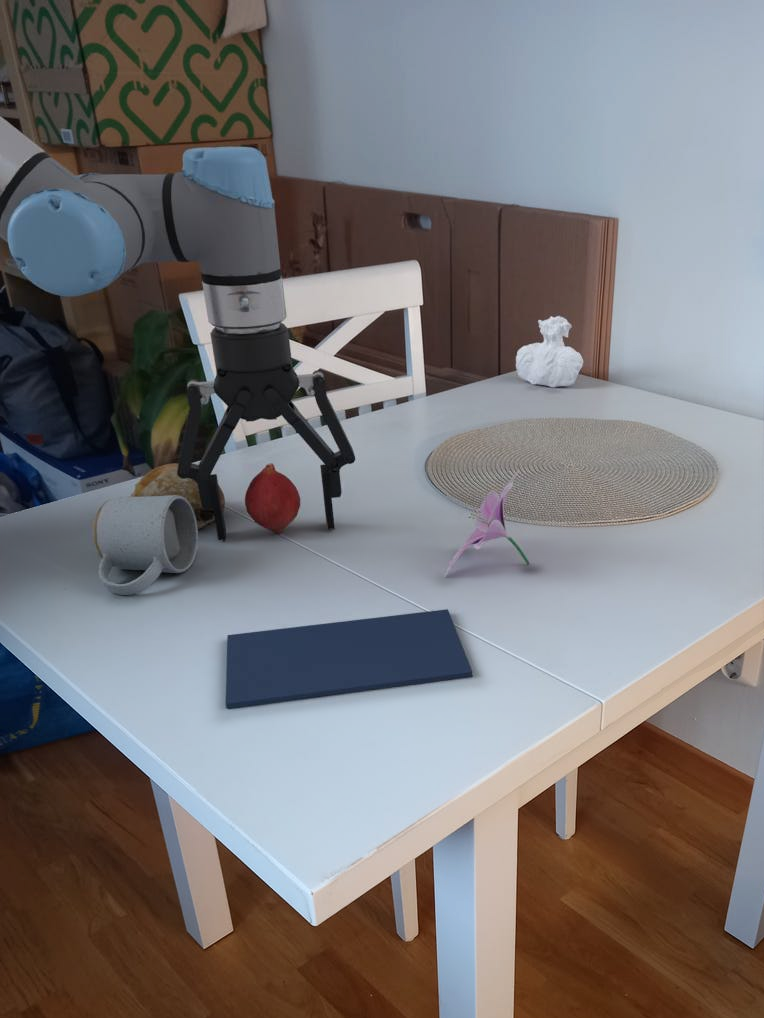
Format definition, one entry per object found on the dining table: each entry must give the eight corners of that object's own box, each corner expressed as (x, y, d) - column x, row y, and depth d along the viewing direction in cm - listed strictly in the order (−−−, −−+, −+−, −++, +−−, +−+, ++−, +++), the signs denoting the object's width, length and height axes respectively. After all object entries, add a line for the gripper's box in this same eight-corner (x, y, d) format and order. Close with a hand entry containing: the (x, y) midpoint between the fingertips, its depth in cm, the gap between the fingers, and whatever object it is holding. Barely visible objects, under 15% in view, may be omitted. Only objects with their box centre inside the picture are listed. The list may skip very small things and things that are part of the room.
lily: (502, 537, 103) (457, 468, 98) (586, 523, 94) (542, 446, 90) (448, 610, 96) (398, 539, 92) (534, 602, 88) (483, 523, 83)
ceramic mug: (131, 548, 99) (115, 481, 95) (204, 552, 98) (191, 484, 94) (82, 597, 90) (62, 525, 86) (161, 601, 89) (145, 528, 85)
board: (226, 709, 73) (225, 703, 73) (228, 639, 82) (227, 634, 82) (472, 676, 77) (472, 671, 77) (448, 613, 86) (447, 608, 86)
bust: (582, 400, 151) (603, 335, 151) (567, 380, 144) (589, 312, 144) (518, 390, 156) (539, 327, 157) (501, 370, 149) (522, 305, 150)
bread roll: (170, 568, 103) (180, 514, 98) (106, 515, 105) (112, 459, 100) (234, 535, 110) (247, 483, 105) (173, 486, 112) (182, 433, 107)
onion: (245, 544, 100) (234, 473, 96) (255, 522, 105) (245, 454, 100) (300, 542, 100) (291, 472, 96) (306, 521, 105) (298, 453, 101)
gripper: (119, 341, 86) (164, 555, 97) (372, 325, 90) (386, 532, 101) (127, 324, 92) (169, 526, 103) (363, 310, 96) (378, 506, 107)
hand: (276, 529), depth 102 cm, fingers open, 11 cm apart
